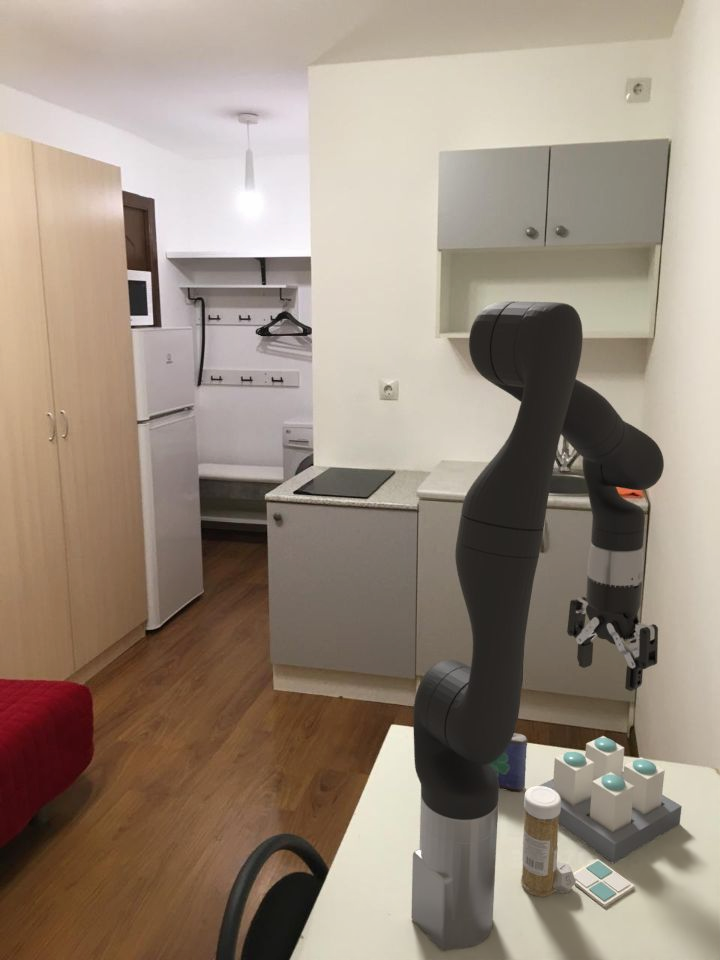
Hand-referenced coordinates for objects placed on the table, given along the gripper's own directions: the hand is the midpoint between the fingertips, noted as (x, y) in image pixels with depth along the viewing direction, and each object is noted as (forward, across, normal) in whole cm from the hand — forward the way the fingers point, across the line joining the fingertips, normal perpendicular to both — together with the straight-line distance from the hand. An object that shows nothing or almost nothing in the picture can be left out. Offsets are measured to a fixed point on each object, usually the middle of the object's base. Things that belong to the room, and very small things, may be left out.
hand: (608, 677), depth 113 cm
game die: (+20, +10, -19) cm, 30 cm away
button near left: (+18, -1, -6) cm, 19 cm away
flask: (+21, -12, -10) cm, 26 cm away
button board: (+21, +3, -2) cm, 21 cm away
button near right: (+18, +6, -6) cm, 20 cm away
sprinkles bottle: (+20, +8, -22) cm, 31 cm away
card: (+20, +12, -14) cm, 28 cm away
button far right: (+18, +6, +1) cm, 19 cm away
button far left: (+18, -1, +1) cm, 18 cm away
